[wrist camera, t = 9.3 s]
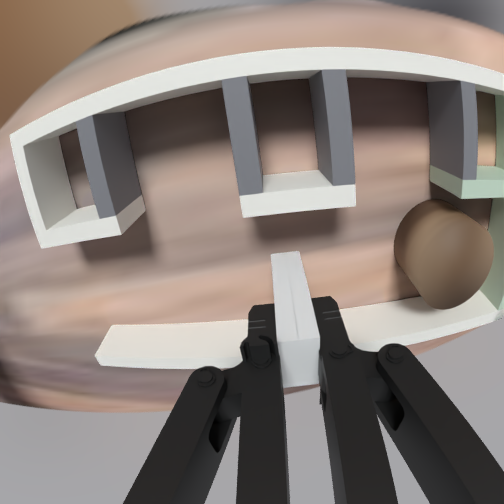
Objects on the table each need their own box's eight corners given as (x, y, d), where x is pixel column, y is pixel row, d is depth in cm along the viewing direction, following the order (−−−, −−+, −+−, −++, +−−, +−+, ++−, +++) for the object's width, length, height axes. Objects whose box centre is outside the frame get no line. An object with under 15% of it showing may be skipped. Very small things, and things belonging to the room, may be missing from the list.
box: (116, 334, 21) (100, 365, 18) (45, 126, 14) (9, 135, 11) (480, 293, 19) (502, 318, 15) (502, 83, 11) (536, 86, 8)
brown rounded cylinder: (392, 281, 18) (414, 318, 15) (393, 204, 16) (424, 231, 12) (455, 266, 18) (484, 298, 14) (463, 194, 15) (499, 217, 12)
